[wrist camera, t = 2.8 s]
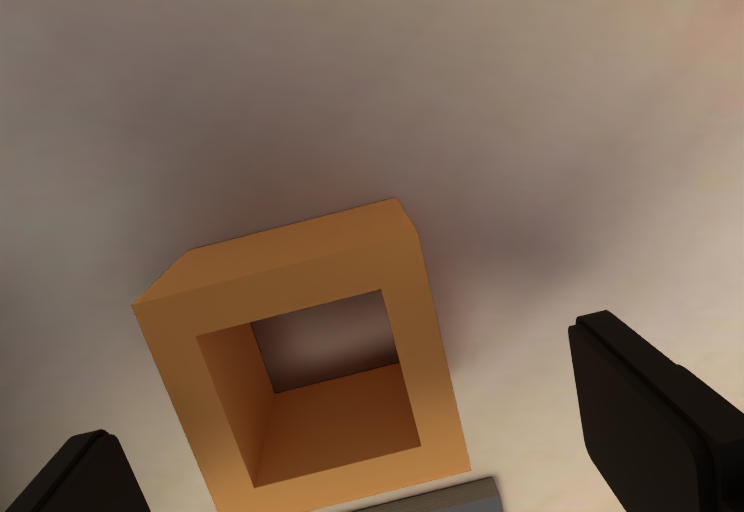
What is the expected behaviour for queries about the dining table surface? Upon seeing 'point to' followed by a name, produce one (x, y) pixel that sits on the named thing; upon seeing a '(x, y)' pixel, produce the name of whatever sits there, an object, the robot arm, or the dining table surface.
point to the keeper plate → (450, 500)
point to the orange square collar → (314, 402)
